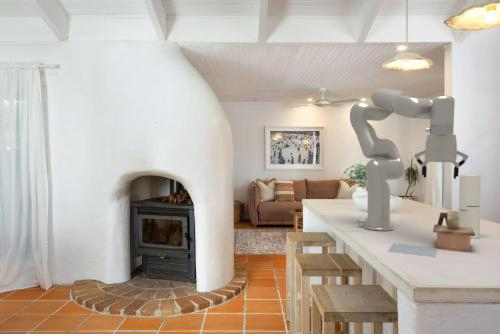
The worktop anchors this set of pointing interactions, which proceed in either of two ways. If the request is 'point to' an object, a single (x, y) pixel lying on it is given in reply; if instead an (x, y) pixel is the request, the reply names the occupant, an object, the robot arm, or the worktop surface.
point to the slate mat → (413, 250)
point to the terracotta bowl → (453, 241)
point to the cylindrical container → (469, 203)
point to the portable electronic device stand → (441, 217)
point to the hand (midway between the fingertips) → (439, 177)
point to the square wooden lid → (453, 226)
